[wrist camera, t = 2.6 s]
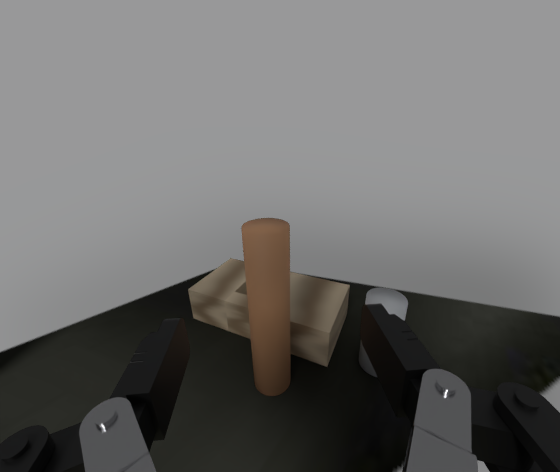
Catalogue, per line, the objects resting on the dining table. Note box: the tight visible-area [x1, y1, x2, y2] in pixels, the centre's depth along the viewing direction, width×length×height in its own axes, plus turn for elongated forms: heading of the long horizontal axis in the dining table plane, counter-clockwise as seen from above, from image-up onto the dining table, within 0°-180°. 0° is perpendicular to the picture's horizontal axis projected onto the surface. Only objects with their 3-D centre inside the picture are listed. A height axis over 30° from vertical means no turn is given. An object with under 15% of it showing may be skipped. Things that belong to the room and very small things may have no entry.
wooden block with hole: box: [188, 259, 350, 367], centre depth 38 cm, size 20×10×5 cm, turn 64°
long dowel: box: [242, 218, 291, 396], centre depth 26 cm, size 4×4×18 cm
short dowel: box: [359, 288, 408, 377], centre depth 29 cm, size 4×4×9 cm
